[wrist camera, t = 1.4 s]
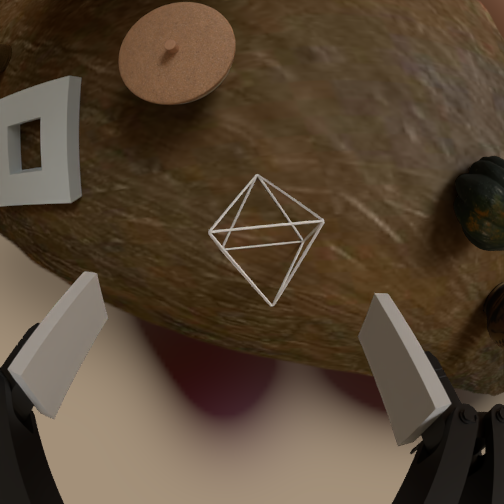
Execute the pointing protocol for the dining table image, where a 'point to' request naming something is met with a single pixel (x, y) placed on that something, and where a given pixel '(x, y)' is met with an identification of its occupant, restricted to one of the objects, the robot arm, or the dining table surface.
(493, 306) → the ceramic jug
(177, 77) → the lidded jar
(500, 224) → the squash
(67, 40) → the dining table surface
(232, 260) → the geometric polyhedron
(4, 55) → the gold cylinder
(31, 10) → the dining table surface
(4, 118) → the frame
